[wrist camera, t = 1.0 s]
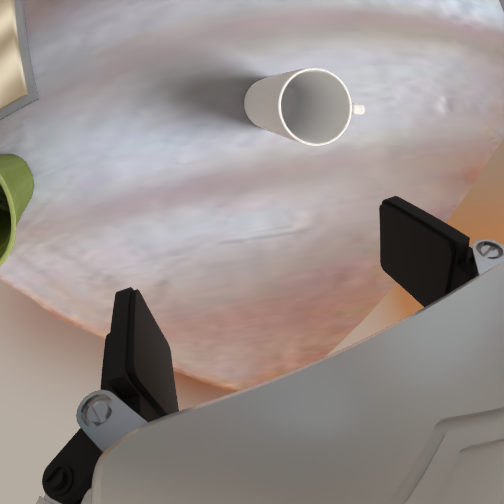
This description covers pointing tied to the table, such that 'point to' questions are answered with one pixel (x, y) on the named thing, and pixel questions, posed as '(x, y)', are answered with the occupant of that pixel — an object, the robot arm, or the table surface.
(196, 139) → the table surface
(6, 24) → the lid
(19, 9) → the mat
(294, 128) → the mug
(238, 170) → the table surface
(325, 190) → the table surface
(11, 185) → the plant pot
